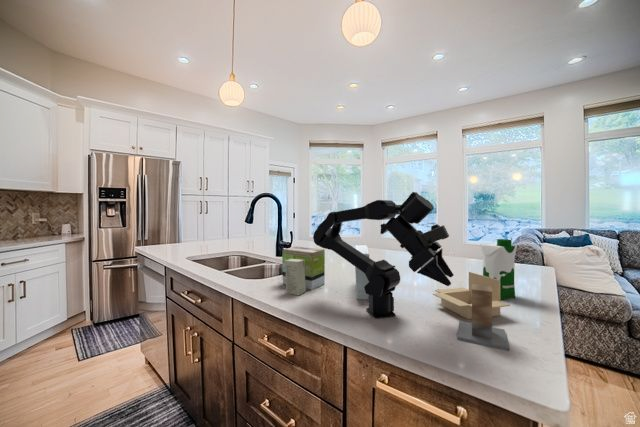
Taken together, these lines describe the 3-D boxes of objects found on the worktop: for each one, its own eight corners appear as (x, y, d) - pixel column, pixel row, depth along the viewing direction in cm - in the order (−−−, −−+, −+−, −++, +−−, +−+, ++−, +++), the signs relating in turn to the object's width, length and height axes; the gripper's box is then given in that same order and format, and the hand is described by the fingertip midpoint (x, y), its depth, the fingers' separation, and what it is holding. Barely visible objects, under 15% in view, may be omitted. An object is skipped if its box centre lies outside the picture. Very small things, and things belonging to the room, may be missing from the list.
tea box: (281, 284, 109) (281, 248, 108) (296, 279, 117) (296, 245, 117) (312, 290, 101) (311, 251, 100) (325, 284, 109) (325, 248, 109)
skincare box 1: (306, 292, 98) (305, 259, 98) (299, 295, 94) (298, 261, 94) (292, 289, 101) (292, 258, 101) (285, 292, 98) (284, 260, 98)
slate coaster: (457, 339, 62) (457, 336, 62) (459, 323, 71) (459, 321, 71) (509, 350, 57) (509, 347, 57) (504, 331, 66) (504, 329, 66)
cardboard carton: (468, 325, 70) (468, 287, 70) (426, 303, 86) (426, 272, 86) (510, 319, 73) (510, 283, 73) (462, 299, 90) (462, 269, 90)
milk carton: (501, 301, 87) (501, 241, 87) (477, 293, 96) (477, 238, 96) (520, 298, 90) (520, 239, 90) (494, 290, 99) (495, 237, 98)
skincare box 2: (355, 282, 111) (355, 244, 111) (368, 282, 110) (368, 245, 110) (355, 299, 90) (354, 253, 90) (371, 300, 90) (371, 253, 89)
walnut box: (471, 335, 63) (472, 289, 63) (472, 327, 67) (472, 284, 67) (491, 339, 61) (492, 291, 61) (490, 330, 65) (490, 286, 65)
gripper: (423, 215, 62) (478, 267, 56) (433, 213, 78) (476, 254, 72) (389, 246, 66) (437, 298, 60) (405, 239, 82) (444, 279, 76)
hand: (451, 280), depth 67 cm, fingers open, 9 cm apart
